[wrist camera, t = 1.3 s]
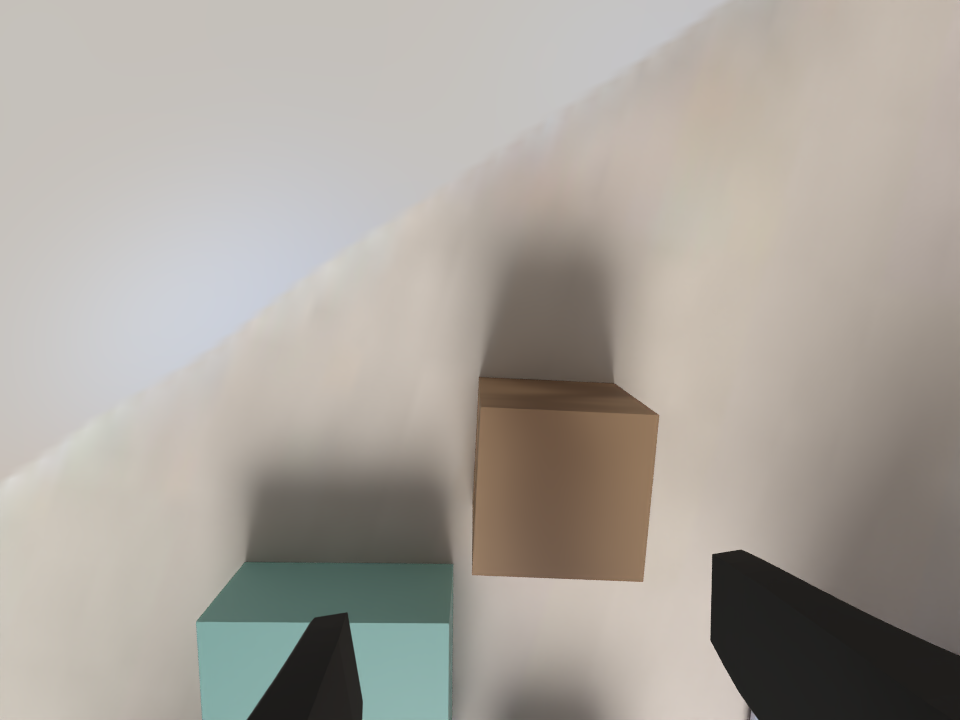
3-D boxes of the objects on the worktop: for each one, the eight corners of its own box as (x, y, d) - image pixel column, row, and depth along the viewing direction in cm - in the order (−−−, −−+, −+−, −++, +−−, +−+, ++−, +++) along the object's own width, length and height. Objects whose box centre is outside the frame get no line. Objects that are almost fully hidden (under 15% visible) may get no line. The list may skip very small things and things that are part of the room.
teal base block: (453, 559, 21) (448, 623, 17) (451, 742, 22) (446, 841, 18) (247, 558, 21) (196, 621, 17) (256, 741, 22) (209, 840, 18)
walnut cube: (613, 383, 20) (659, 415, 15) (602, 510, 21) (643, 581, 16) (479, 376, 20) (480, 407, 15) (472, 505, 21) (472, 574, 16)
